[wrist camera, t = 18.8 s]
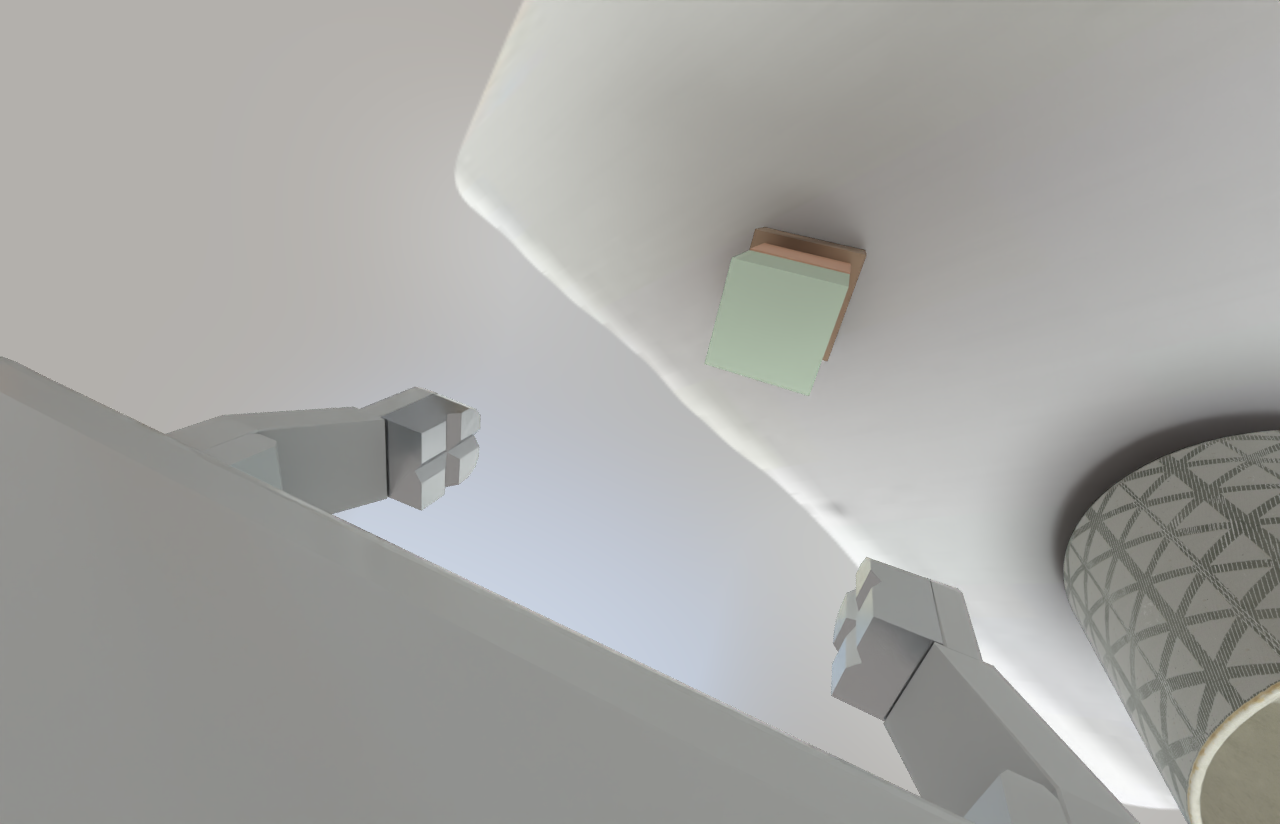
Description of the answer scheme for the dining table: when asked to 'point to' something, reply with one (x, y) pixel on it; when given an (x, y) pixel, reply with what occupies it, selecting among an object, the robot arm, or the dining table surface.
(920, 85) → the dining table surface
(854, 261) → the walnut base
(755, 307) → the sage block
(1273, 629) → the planter
